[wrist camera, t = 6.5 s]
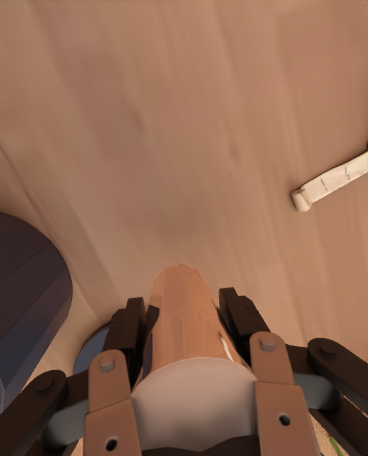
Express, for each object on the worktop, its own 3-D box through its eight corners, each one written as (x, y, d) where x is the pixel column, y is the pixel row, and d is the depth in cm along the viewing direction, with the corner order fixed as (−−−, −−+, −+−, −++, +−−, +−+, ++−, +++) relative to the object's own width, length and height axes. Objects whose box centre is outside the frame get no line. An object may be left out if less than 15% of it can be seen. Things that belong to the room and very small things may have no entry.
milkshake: (232, 307, 16) (341, 533, 6) (151, 326, 16) (139, 588, 6) (221, 242, 15) (337, 406, 5) (133, 263, 14) (79, 473, 5)
